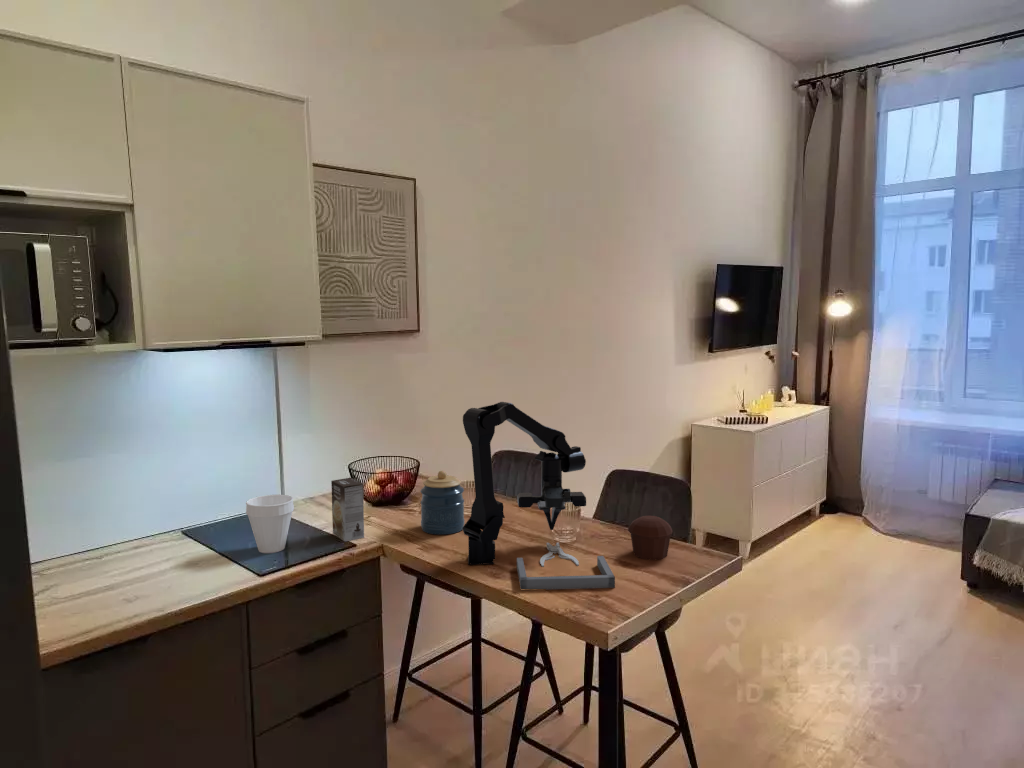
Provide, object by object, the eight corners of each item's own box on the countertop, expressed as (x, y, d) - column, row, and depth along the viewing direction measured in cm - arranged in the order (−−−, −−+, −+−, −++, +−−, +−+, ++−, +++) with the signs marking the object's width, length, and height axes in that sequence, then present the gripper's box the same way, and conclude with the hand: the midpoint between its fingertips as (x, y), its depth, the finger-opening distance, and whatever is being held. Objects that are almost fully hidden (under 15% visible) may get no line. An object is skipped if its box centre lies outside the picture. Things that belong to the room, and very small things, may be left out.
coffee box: (331, 534, 200) (330, 480, 199) (352, 529, 204) (350, 477, 203) (344, 542, 193) (343, 486, 191) (365, 537, 197) (364, 482, 195)
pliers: (541, 562, 173) (534, 542, 188) (541, 568, 173) (534, 548, 188) (579, 561, 174) (570, 541, 189) (579, 567, 174) (570, 547, 189)
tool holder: (520, 590, 158) (520, 579, 158) (516, 567, 173) (516, 557, 173) (614, 587, 160) (614, 577, 160) (603, 565, 174) (603, 555, 174)
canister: (416, 534, 199) (415, 475, 198) (426, 521, 212) (425, 465, 211) (460, 536, 198) (459, 476, 196) (468, 522, 211) (467, 466, 209)
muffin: (667, 547, 188) (668, 511, 187) (676, 561, 177) (677, 523, 176) (624, 547, 188) (624, 511, 187) (630, 561, 177) (631, 523, 176)
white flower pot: (291, 539, 196) (290, 492, 194) (298, 552, 185) (296, 502, 183) (245, 545, 190) (243, 497, 189) (249, 559, 179) (247, 508, 178)
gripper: (520, 482, 181) (520, 539, 183) (589, 481, 183) (589, 538, 184) (517, 472, 193) (517, 527, 194) (583, 471, 194) (582, 525, 195)
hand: (551, 529), depth 191 cm, fingers closed
